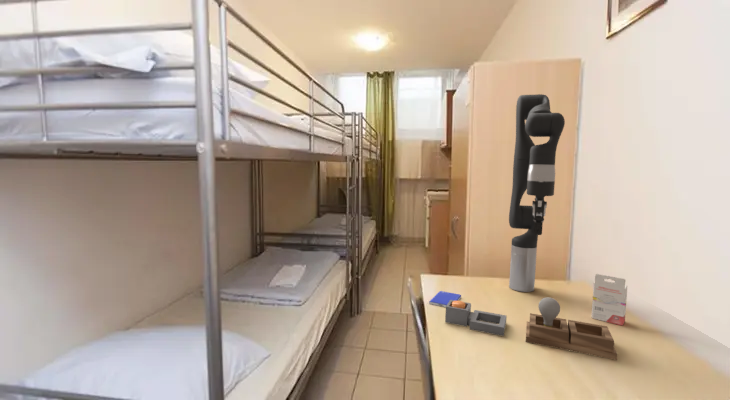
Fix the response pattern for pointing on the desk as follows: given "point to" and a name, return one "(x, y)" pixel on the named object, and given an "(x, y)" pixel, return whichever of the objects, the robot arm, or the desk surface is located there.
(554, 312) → the light bulb
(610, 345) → the bulb rack
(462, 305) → the orange ball
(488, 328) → the bulb socket block
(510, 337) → the desk surface
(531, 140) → the robot arm
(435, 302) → the blue book
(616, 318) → the ink cartridge box
